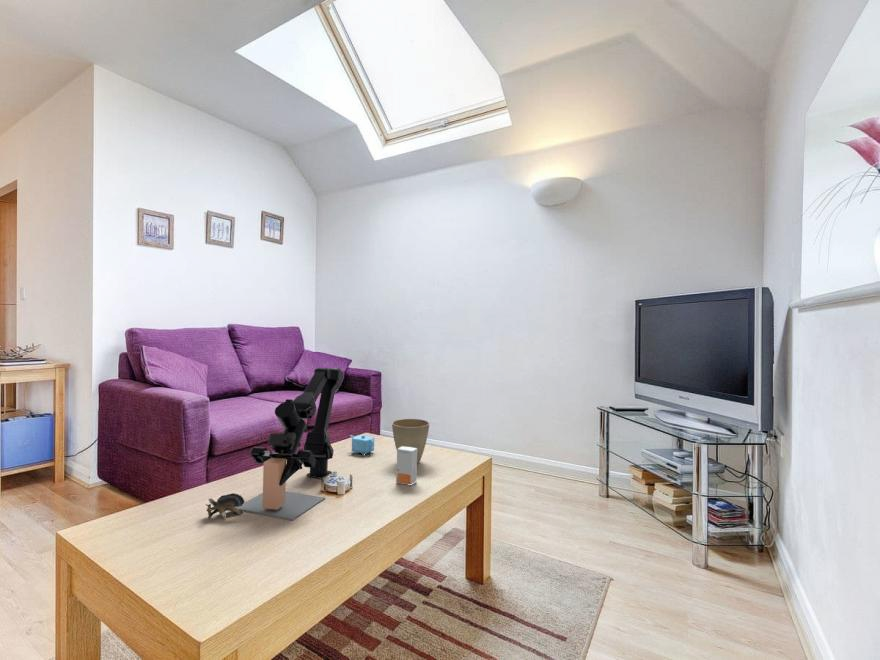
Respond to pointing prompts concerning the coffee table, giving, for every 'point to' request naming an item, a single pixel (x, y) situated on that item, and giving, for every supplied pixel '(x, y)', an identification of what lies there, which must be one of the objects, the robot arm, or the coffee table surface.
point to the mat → (291, 508)
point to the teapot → (362, 444)
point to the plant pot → (411, 434)
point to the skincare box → (406, 465)
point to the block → (273, 483)
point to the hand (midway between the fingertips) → (272, 484)
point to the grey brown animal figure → (225, 505)
